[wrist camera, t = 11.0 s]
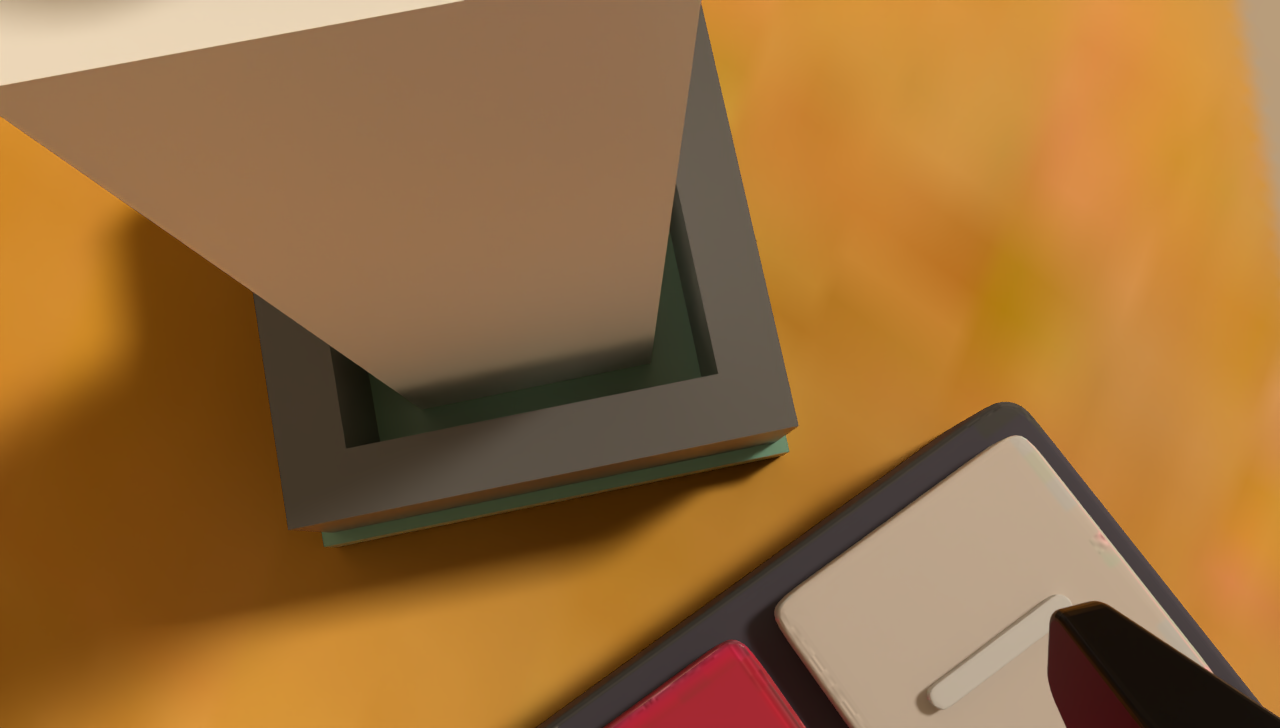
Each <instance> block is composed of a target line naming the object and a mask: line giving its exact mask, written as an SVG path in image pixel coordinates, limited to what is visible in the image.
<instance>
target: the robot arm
mask: <svg viewBox="0 0 1280 728" xmlns="http://www.w3.org/2000/svg"><path fill="white" fill-rule="evenodd" d="M1047 677H1048V683H1049V687H1050V690H1051V693H1052V696H1053V699H1054V701H1055V704H1056V706H1057V708H1058V711H1059V713H1060V715H1061V717H1062V720H1063V722H1064V724H1065V726H1066V728H1280V717H1278V716H1276V715H1275V714H1273V713H1272V712H1270V711H1269V710H1267V709H1266V708H1264V707H1263V706H1261V705H1260V704H1258V703H1257V702H1255V701H1254V700H1252V699H1251V698H1249V697H1248V696H1246V695H1245V694H1243V693H1242V692H1240V691H1239V690H1237V689H1236V688H1234V687H1232V686H1231V685H1229V684H1228V683H1226V682H1225V681H1223V680H1222V679H1220V678H1219V677H1217V676H1216V675H1214V674H1213V673H1211V672H1210V671H1208V670H1207V669H1205V668H1204V667H1202V666H1201V665H1199V664H1198V663H1196V662H1195V661H1193V660H1192V659H1190V658H1188V657H1187V656H1185V655H1184V654H1182V653H1181V652H1179V651H1178V650H1176V649H1175V648H1173V647H1172V646H1170V645H1169V644H1167V643H1166V642H1164V641H1163V640H1161V639H1160V638H1158V637H1157V636H1155V635H1154V634H1152V633H1151V632H1149V631H1148V630H1146V629H1144V628H1143V627H1141V626H1140V625H1138V624H1137V623H1135V622H1134V621H1132V620H1131V619H1129V618H1128V617H1126V616H1125V615H1123V614H1122V613H1120V612H1119V611H1117V610H1116V609H1114V608H1113V607H1111V606H1109V605H1108V604H1106V603H1103V602H1099V601H1088V602H1084V603H1080V604H1077V605H1073V606H1069V607H1065V608H1061V609H1058V610H1056V611H1054V612H1053V614H1052V615H1051V617H1050V622H1049V638H1048V661H1047Z"/></svg>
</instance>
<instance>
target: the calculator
mask: <svg viewBox="0 0 1280 728" xmlns="http://www.w3.org/2000/svg"><path fill="white" fill-rule="evenodd" d="M1088 601H1099V602H1103V603H1106V604H1108V605H1109V606H1111V607H1113V608H1114V609H1116V610H1117V611H1119V612H1120V613H1122V614H1123V615H1125V616H1126V617H1128V618H1129V619H1131V620H1132V621H1134V622H1135V623H1137V624H1138V625H1140V626H1141V627H1143V628H1144V629H1146V630H1148V631H1149V632H1151V633H1152V634H1154V635H1155V636H1157V637H1158V638H1160V639H1161V640H1163V641H1164V642H1166V643H1167V644H1169V645H1170V646H1172V647H1173V648H1175V649H1176V650H1178V651H1179V652H1181V653H1182V654H1184V655H1185V656H1187V657H1188V658H1190V659H1192V660H1193V661H1195V662H1196V663H1198V664H1199V665H1201V666H1202V667H1204V668H1205V669H1207V670H1208V671H1210V672H1211V673H1213V674H1214V675H1216V676H1217V677H1219V678H1220V679H1222V680H1223V681H1225V682H1226V683H1228V684H1229V685H1231V686H1232V687H1234V688H1236V689H1237V690H1239V691H1240V692H1242V693H1243V694H1245V695H1246V696H1248V697H1249V698H1251V699H1252V700H1254V701H1255V702H1257V703H1258V704H1260V702H1259V701H1258V700H1257V699H1256V697H1255V696H1254V695H1253V694H1252V692H1251V691H1250V690H1249V689H1248V687H1247V686H1246V685H1245V683H1244V682H1243V681H1242V680H1241V678H1240V677H1239V676H1238V675H1237V673H1236V672H1235V671H1234V670H1233V668H1232V667H1231V666H1230V665H1229V663H1228V662H1227V661H1226V660H1225V658H1224V657H1223V656H1222V655H1221V653H1220V652H1219V651H1218V649H1217V648H1216V647H1215V646H1214V644H1213V643H1212V642H1211V641H1210V639H1209V638H1208V637H1207V636H1206V634H1205V633H1204V632H1203V631H1202V629H1201V628H1200V627H1199V626H1198V624H1197V623H1196V622H1195V620H1194V619H1193V618H1192V617H1191V615H1190V614H1189V613H1188V612H1187V610H1186V609H1185V608H1184V607H1183V605H1182V604H1181V603H1180V602H1179V600H1178V599H1177V598H1176V597H1175V595H1174V594H1173V593H1172V591H1171V590H1170V589H1169V588H1168V586H1167V585H1166V584H1165V583H1164V581H1163V580H1162V579H1161V578H1160V576H1159V575H1158V574H1157V573H1156V571H1155V570H1154V569H1153V568H1152V566H1151V565H1150V564H1149V563H1148V561H1147V560H1146V559H1145V557H1144V556H1143V555H1142V554H1141V552H1140V551H1139V550H1138V549H1137V547H1136V546H1135V545H1134V544H1133V542H1132V541H1131V540H1130V539H1129V537H1128V536H1127V535H1126V534H1125V532H1124V531H1123V530H1122V528H1121V527H1120V526H1119V525H1118V523H1117V522H1116V521H1115V520H1114V518H1113V517H1112V516H1111V515H1110V513H1109V512H1108V511H1107V510H1106V508H1105V507H1104V506H1103V505H1102V503H1101V502H1100V501H1099V500H1098V498H1097V497H1096V496H1095V494H1094V493H1093V492H1092V491H1091V489H1090V488H1089V487H1088V486H1087V484H1086V483H1085V482H1084V481H1083V479H1082V478H1081V477H1080V476H1079V474H1078V473H1077V472H1076V471H1075V469H1074V468H1073V467H1072V465H1071V464H1070V463H1069V462H1068V460H1067V459H1066V458H1065V457H1064V455H1063V454H1062V453H1061V452H1060V450H1059V449H1058V448H1057V447H1056V445H1055V444H1054V443H1053V442H1052V440H1051V439H1050V438H1049V437H1048V435H1047V434H1046V433H1045V432H1044V430H1043V429H1042V428H1041V427H1040V425H1039V424H1038V423H1037V422H1036V420H1035V419H1034V418H1033V417H1032V416H1031V415H1030V413H1029V412H1028V411H1026V410H1025V409H1024V408H1023V407H1021V406H1019V405H1017V404H1015V403H1011V402H1000V403H996V404H993V405H991V406H989V407H987V408H985V409H983V410H981V411H979V412H978V413H976V414H974V415H973V416H971V417H969V418H967V419H966V420H964V421H962V422H961V423H959V424H957V425H955V426H954V427H952V428H951V429H949V430H947V431H946V432H944V433H943V434H941V435H940V436H938V437H937V438H936V439H934V440H933V441H931V442H930V443H929V444H927V445H926V446H924V447H923V448H922V449H920V450H919V451H918V452H916V453H915V454H913V455H912V456H911V457H909V458H908V459H906V460H905V461H904V462H902V463H901V464H900V465H898V466H897V467H895V468H894V469H893V470H891V471H890V472H889V473H887V474H886V475H884V476H883V477H882V478H880V479H879V480H877V481H876V482H875V483H873V484H872V485H871V486H869V487H868V488H866V489H865V490H864V491H862V492H861V493H859V494H858V495H857V496H855V497H854V498H853V499H851V500H850V501H848V502H847V503H846V504H844V505H843V506H842V507H840V508H839V509H837V510H836V511H835V512H833V513H832V514H830V515H829V516H828V517H826V518H825V519H824V520H822V521H821V522H819V523H818V524H817V525H815V526H814V527H812V528H811V529H810V530H808V531H807V532H806V533H804V534H803V535H801V536H800V537H799V538H797V539H796V540H794V541H793V542H792V543H790V544H789V545H788V546H786V547H785V548H783V549H782V550H781V551H779V552H778V553H777V554H775V555H774V556H772V557H771V558H770V559H768V560H767V561H765V562H764V563H763V564H761V565H760V566H759V567H757V568H756V569H754V570H753V571H752V572H750V573H749V574H747V575H746V576H745V577H743V578H742V579H741V580H739V581H738V582H736V583H735V584H734V585H732V586H731V587H730V588H728V589H727V590H725V591H724V592H723V593H721V594H720V595H718V596H717V597H716V598H714V599H713V600H712V601H710V602H709V603H707V604H706V605H705V606H703V607H702V608H700V609H699V610H698V611H696V612H695V613H694V614H692V615H691V616H689V617H688V618H687V619H685V620H684V621H682V622H681V623H680V624H678V625H677V626H676V627H674V628H673V629H671V630H670V631H669V632H667V633H666V634H665V635H663V636H662V637H660V638H659V639H658V640H656V641H655V642H653V643H652V644H651V645H649V646H648V647H647V648H645V649H644V650H642V651H641V652H640V653H638V654H637V655H635V656H634V657H633V658H631V659H630V660H629V661H627V662H626V663H624V664H623V665H622V666H620V667H619V668H618V669H616V670H615V671H613V672H612V673H611V674H609V675H608V676H606V677H605V678H604V679H602V680H601V681H600V682H598V683H597V684H595V685H594V686H593V687H591V688H590V689H588V690H587V691H586V692H584V693H583V694H582V695H580V696H579V697H577V698H576V699H575V700H573V701H572V702H570V703H569V704H568V705H566V706H565V707H564V708H562V709H561V710H559V711H558V712H557V713H555V714H554V715H553V716H551V717H550V718H548V719H547V720H546V721H544V722H543V723H541V724H540V725H539V726H537V727H536V728H1066V726H1065V724H1064V722H1063V720H1062V717H1061V715H1060V713H1059V711H1058V708H1057V706H1056V704H1055V701H1054V699H1053V696H1052V693H1051V690H1050V687H1049V683H1048V677H1047V661H1048V638H1049V622H1050V617H1051V615H1052V614H1053V612H1054V611H1056V610H1058V609H1061V608H1065V607H1069V606H1073V605H1077V604H1080V603H1084V602H1088ZM1260 705H1261V704H1260ZM1261 706H1262V705H1261Z"/></svg>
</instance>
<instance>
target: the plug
mask: <svg viewBox="0 0 1280 728" xmlns="http://www.w3.org/2000/svg"><path fill="white" fill-rule="evenodd" d="M700 6H701V0H0V116H1V117H2V118H4V119H5V120H7V121H8V122H10V123H11V124H12V125H14V126H15V127H17V128H18V129H20V130H21V131H23V132H24V133H25V134H27V135H28V136H30V137H31V138H33V139H34V140H35V141H37V142H38V143H40V144H41V145H43V146H44V147H45V148H47V149H48V150H50V151H51V152H53V153H54V154H56V155H57V156H58V157H60V158H61V159H63V160H64V161H66V162H67V163H68V164H70V165H71V166H73V167H74V168H76V169H77V170H79V171H80V172H81V173H83V174H84V175H86V176H87V177H89V178H90V179H91V180H93V181H94V182H96V183H97V184H99V185H100V186H102V187H103V188H104V189H106V190H107V191H109V192H110V193H112V194H113V195H114V196H116V197H117V198H119V199H120V200H122V201H123V202H124V203H126V204H127V205H129V206H130V207H132V208H133V209H135V210H136V211H137V212H139V213H140V214H142V215H143V216H145V217H146V218H147V219H149V220H150V221H152V222H153V223H155V224H156V225H158V226H159V227H160V228H162V229H163V230H165V231H166V232H168V233H169V234H170V235H172V236H173V237H175V238H176V239H178V240H179V241H181V242H182V243H183V244H185V245H186V246H188V247H189V248H191V249H192V250H193V251H195V252H196V253H198V254H199V255H201V256H202V257H203V258H205V259H206V260H208V261H209V262H211V263H212V264H214V265H215V266H216V267H218V268H219V269H221V270H222V271H224V272H225V273H226V274H228V275H229V276H231V277H232V278H234V279H235V280H237V281H238V282H239V283H241V284H242V285H244V286H245V287H247V288H248V289H249V290H251V291H252V292H254V293H255V294H257V295H258V296H260V297H261V298H262V299H264V300H265V301H267V302H268V303H270V304H271V305H272V306H274V307H275V308H277V309H278V310H280V311H281V312H282V313H284V314H285V315H287V316H288V317H290V318H291V319H293V320H294V321H295V322H297V323H298V324H300V325H301V326H303V327H304V328H305V329H307V330H308V331H310V332H311V333H313V334H314V335H316V336H317V337H318V338H320V339H321V340H323V341H324V342H326V343H327V344H328V345H330V346H331V347H333V348H334V349H336V350H337V351H339V352H340V353H341V354H343V355H344V356H346V357H347V358H349V359H350V360H351V361H353V362H354V363H356V364H357V365H359V366H360V367H361V368H363V369H364V370H366V371H367V372H369V373H370V374H372V375H373V376H374V377H376V378H377V379H379V380H380V381H382V382H383V383H384V384H386V385H387V386H389V387H390V388H392V389H393V390H395V391H396V392H397V393H399V394H400V395H402V396H403V397H405V398H406V399H407V400H409V401H410V402H412V403H413V404H415V405H416V406H418V407H419V408H420V409H427V408H432V407H437V406H442V405H447V404H452V403H457V402H462V401H467V400H471V399H476V398H481V397H486V396H491V395H496V394H501V393H506V392H511V391H516V390H521V389H526V388H531V387H536V386H541V385H546V384H551V383H556V382H561V381H566V380H571V379H575V378H580V377H585V376H590V375H595V374H600V373H605V372H610V371H615V370H620V369H625V368H630V367H635V366H640V365H645V364H650V363H651V357H652V350H653V343H654V336H655V329H656V321H657V314H658V307H659V300H660V293H661V285H662V278H663V271H664V264H665V257H666V250H667V242H668V235H669V228H670V221H671V214H672V207H673V199H674V192H675V185H676V178H677V171H678V163H679V156H680V149H681V142H682V135H683V128H684V120H685V113H686V106H687V99H688V92H689V85H690V77H691V70H692V63H693V56H694V49H695V41H696V34H697V27H698V20H699V13H700Z"/></svg>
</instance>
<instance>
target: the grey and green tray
mask: <svg viewBox="0 0 1280 728" xmlns="http://www.w3.org/2000/svg"><path fill="white" fill-rule="evenodd" d="M253 296H254V303H255V310H256V317H257V323H258V330H259V337H260V343H261V350H262V357H263V364H264V370H265V377H266V384H267V390H268V397H269V404H270V411H271V417H272V424H273V431H274V437H275V444H276V451H277V458H278V464H279V471H280V478H281V484H282V491H283V498H284V505H285V511H286V518H287V525H288V530H297V531H313V532H322V538H323V544H324V547H340V546H345V545H350V544H355V543H359V542H364V541H369V540H374V539H379V538H384V537H389V536H394V535H398V534H403V533H408V532H413V531H418V530H423V529H428V528H433V527H437V526H442V525H447V524H452V523H457V522H462V521H467V520H472V519H476V518H481V517H486V516H491V515H496V514H501V513H506V512H511V511H515V510H520V509H525V508H530V507H535V506H540V505H545V504H550V503H554V502H559V501H564V500H569V499H574V498H579V497H584V496H589V495H593V494H598V493H603V492H608V491H613V490H618V489H623V488H628V487H632V486H637V485H642V484H647V483H652V482H657V481H662V480H667V479H671V478H676V477H681V476H686V475H691V474H696V473H701V472H706V471H710V470H715V469H720V468H725V467H730V466H735V465H740V464H745V463H749V462H754V461H759V460H764V459H769V458H774V457H779V456H783V455H785V454H786V453H788V452H789V448H788V444H787V439H786V435H787V434H788V433H789V432H791V431H792V430H794V429H795V428H796V427H798V421H797V417H796V413H795V408H794V404H793V400H792V395H791V391H790V387H789V382H788V378H787V374H786V369H785V365H784V361H783V356H782V352H781V348H780V343H779V339H778V335H777V330H776V326H775V322H774V317H773V313H772V309H771V304H770V300H769V296H768V291H767V287H766V283H765V278H764V274H763V270H762V265H761V261H760V257H759V252H758V248H757V244H756V239H755V235H754V231H753V226H752V222H751V218H750V213H749V209H748V205H747V200H746V196H745V192H744V187H743V183H742V179H741V174H740V170H739V166H738V161H737V157H736V153H735V148H734V144H733V140H732V135H731V131H730V126H729V122H728V118H727V113H726V109H725V105H724V100H723V96H722V92H721V87H720V83H719V79H718V74H717V70H716V66H715V61H714V57H713V53H712V48H711V44H710V40H709V35H708V31H707V27H706V22H705V18H704V14H703V9H702V5H701V6H700V13H699V20H698V27H697V34H696V41H695V49H694V56H693V63H692V70H691V77H690V85H689V92H688V99H687V106H686V113H685V120H684V128H683V135H682V142H681V149H680V156H679V163H678V171H677V178H676V185H675V192H674V199H673V207H672V214H671V221H670V228H669V235H668V242H667V250H666V257H665V264H664V271H663V278H662V285H661V293H660V300H659V307H658V314H657V321H656V329H655V336H654V343H653V350H652V357H651V363H650V364H645V365H640V366H635V367H630V368H625V369H620V370H615V371H610V372H605V373H600V374H595V375H590V376H585V377H580V378H575V379H571V380H566V381H561V382H556V383H551V384H546V385H541V386H536V387H531V388H526V389H521V390H516V391H511V392H506V393H501V394H496V395H491V396H486V397H481V398H476V399H471V400H467V401H462V402H457V403H452V404H447V405H442V406H437V407H432V408H427V409H420V408H419V407H418V406H416V405H415V404H413V403H412V402H410V401H409V400H407V399H406V398H405V397H403V396H402V395H400V394H399V393H397V392H396V391H395V390H393V389H392V388H390V387H389V386H387V385H386V384H384V383H383V382H382V381H380V380H379V379H377V378H376V377H374V376H373V375H372V374H370V373H369V372H367V371H366V370H364V369H363V368H361V367H360V366H359V365H357V364H356V363H354V362H353V361H351V360H350V359H349V358H347V357H346V356H344V355H343V354H341V353H340V352H339V351H337V350H336V349H334V348H333V347H331V346H330V345H328V344H327V343H326V342H324V341H323V340H321V339H320V338H318V337H317V336H316V335H314V334H313V333H311V332H310V331H308V330H307V329H305V328H304V327H303V326H301V325H300V324H298V323H297V322H295V321H294V320H293V319H291V318H290V317H288V316H287V315H285V314H284V313H282V312H281V311H280V310H278V309H277V308H275V307H274V306H272V305H271V304H270V303H268V302H267V301H265V300H264V299H262V298H261V297H260V296H258V295H257V294H255V293H254V292H253Z"/></svg>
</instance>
